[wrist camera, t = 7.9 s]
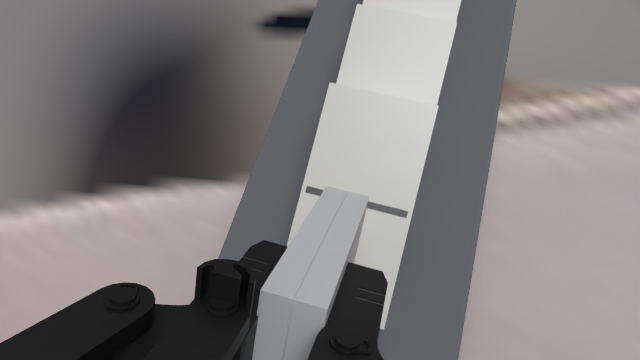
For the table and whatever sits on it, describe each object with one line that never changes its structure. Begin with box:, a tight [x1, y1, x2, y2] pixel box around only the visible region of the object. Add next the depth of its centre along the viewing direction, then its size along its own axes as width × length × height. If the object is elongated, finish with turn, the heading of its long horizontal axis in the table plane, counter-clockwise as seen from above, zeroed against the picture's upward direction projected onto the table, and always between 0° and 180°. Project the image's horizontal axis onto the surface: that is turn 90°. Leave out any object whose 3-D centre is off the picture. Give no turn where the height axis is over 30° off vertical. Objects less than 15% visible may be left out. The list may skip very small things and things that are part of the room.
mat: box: [218, 0, 516, 360], centre depth 26 cm, size 24×12×1 cm, turn 164°
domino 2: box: [336, 4, 457, 105], centre depth 23 cm, size 2×5×10 cm
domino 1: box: [362, 0, 461, 22], centre depth 25 cm, size 2×5×10 cm
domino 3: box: [287, 82, 439, 330], centre depth 21 cm, size 2×5×10 cm
